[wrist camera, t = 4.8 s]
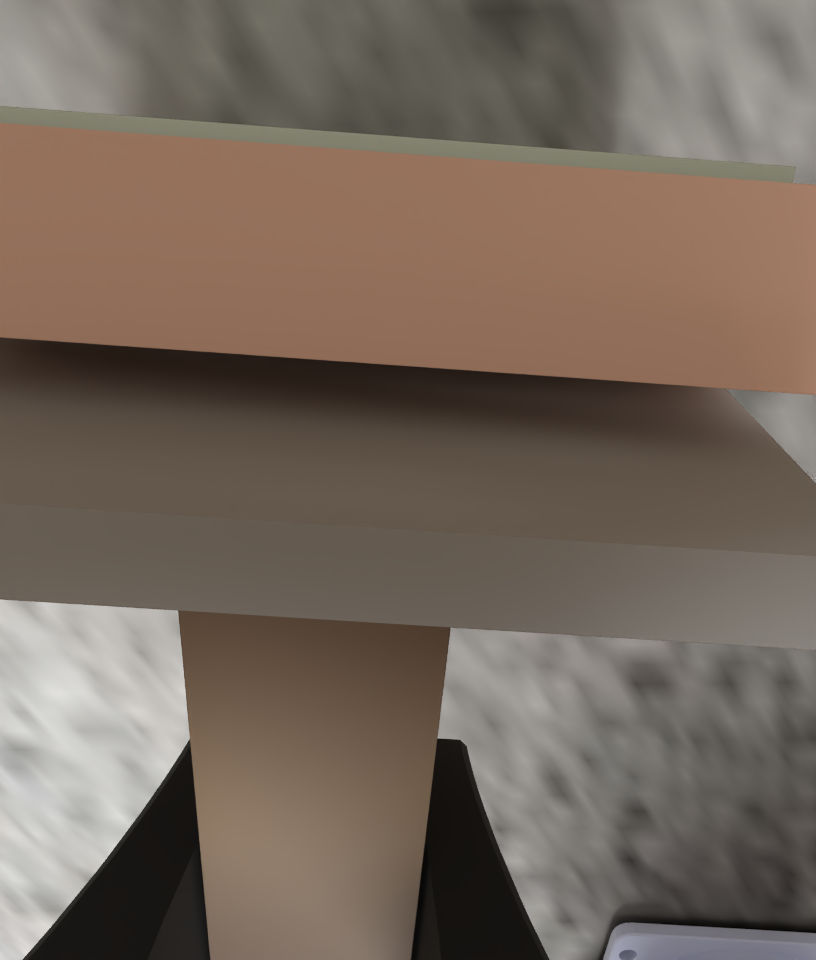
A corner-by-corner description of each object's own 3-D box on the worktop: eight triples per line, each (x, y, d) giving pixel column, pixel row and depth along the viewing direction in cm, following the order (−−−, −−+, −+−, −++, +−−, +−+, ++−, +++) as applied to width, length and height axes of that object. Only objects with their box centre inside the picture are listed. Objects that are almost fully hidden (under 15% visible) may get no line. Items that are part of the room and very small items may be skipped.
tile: (596, 297, 14) (816, 394, 6) (152, 265, 14) (-163, 326, 6) (611, 194, 13) (873, 168, 6) (149, 159, 13) (-202, 86, 6)
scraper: (520, 972, 16) (559, 1310, 12) (139, 952, 16) (33, 1287, 12) (674, 334, 10) (887, 560, 5) (29, 288, 9) (-311, 483, 5)
